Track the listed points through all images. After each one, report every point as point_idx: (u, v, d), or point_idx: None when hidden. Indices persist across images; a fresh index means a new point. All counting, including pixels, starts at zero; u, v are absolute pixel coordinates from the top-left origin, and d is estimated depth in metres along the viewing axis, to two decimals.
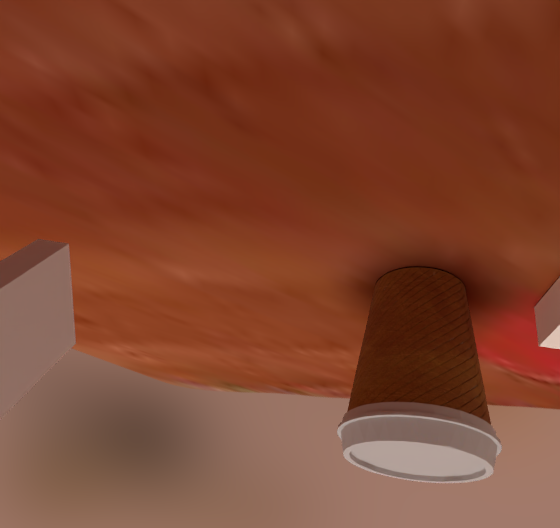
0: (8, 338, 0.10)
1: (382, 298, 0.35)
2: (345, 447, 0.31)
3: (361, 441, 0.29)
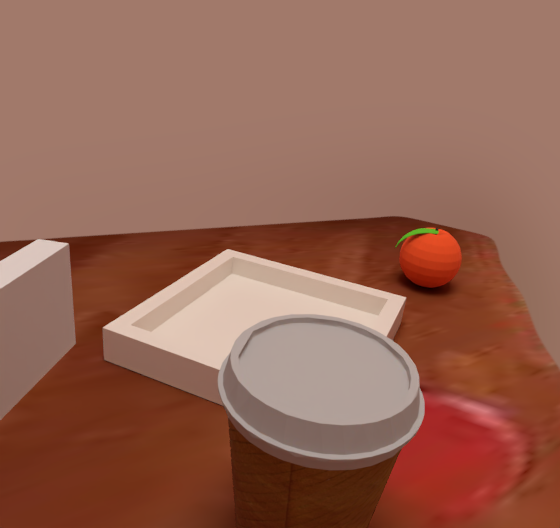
0: (8, 338, 0.10)
1: None
2: (273, 410, 0.20)
3: (241, 385, 0.22)
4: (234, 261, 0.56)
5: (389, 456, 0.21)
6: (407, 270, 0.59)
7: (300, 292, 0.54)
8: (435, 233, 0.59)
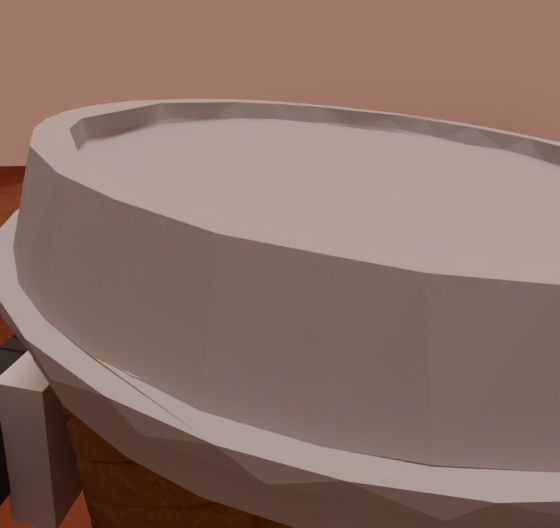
0: None
1: None
2: (147, 224, 0.04)
3: (36, 160, 0.05)
4: None
5: None
6: None
7: None
8: None
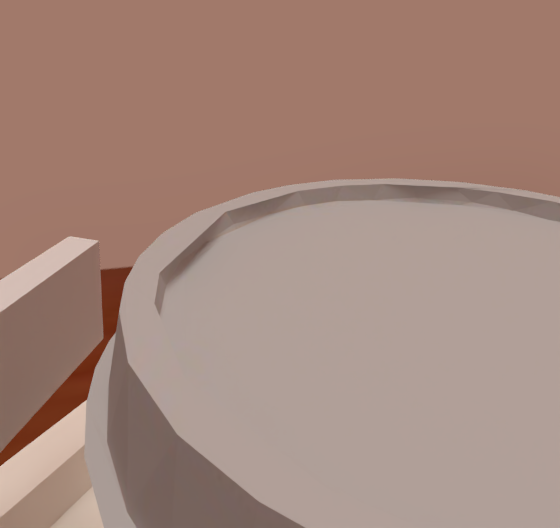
0: (45, 332, 0.11)
1: None
2: None
3: (140, 388, 0.04)
4: None
5: None
6: None
7: None
8: None
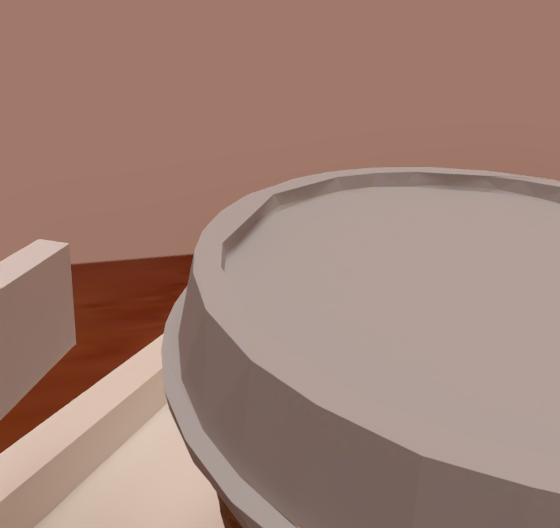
0: (9, 338, 0.10)
1: None
2: (350, 432, 0.04)
3: (217, 329, 0.06)
4: None
5: None
6: None
7: None
8: None
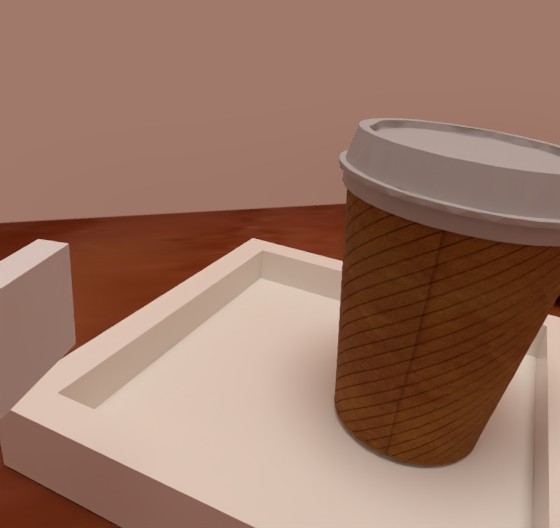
0: (8, 338, 0.10)
1: (350, 386, 0.21)
2: (426, 155, 0.15)
3: (379, 139, 0.17)
4: (264, 257, 0.34)
5: None
6: None
7: None
8: None
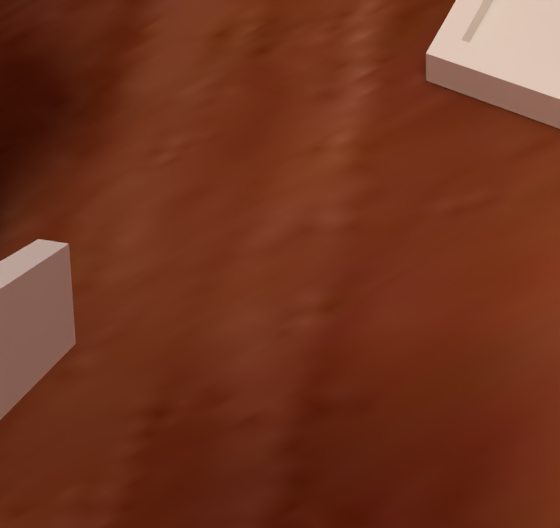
0: (8, 338, 0.10)
1: None
2: None
3: None
4: None
5: None
6: None
7: None
8: None
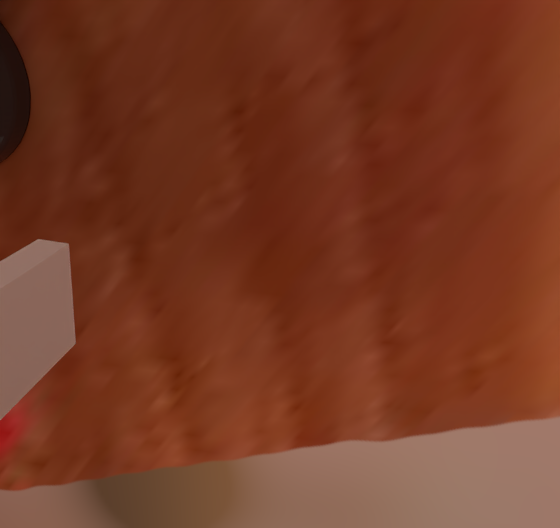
0: (8, 338, 0.10)
1: None
2: None
3: None
4: None
5: None
6: None
7: None
8: None
